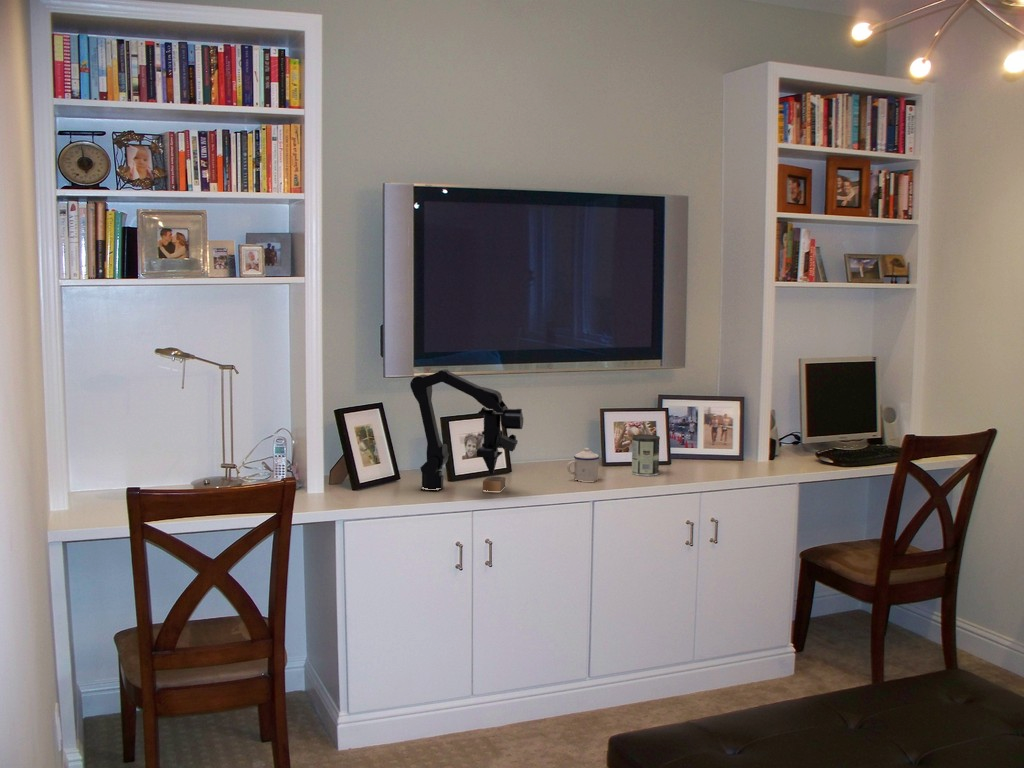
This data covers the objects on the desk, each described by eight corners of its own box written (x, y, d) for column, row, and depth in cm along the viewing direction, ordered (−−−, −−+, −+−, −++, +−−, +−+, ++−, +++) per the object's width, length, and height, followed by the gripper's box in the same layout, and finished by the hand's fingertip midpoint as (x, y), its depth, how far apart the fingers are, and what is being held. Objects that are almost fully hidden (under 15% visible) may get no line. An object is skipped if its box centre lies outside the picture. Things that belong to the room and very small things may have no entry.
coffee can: (649, 469, 355) (650, 433, 353) (664, 475, 345) (665, 437, 344) (626, 471, 351) (627, 434, 349) (639, 477, 341) (640, 439, 340)
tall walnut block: (482, 481, 314) (488, 476, 322) (482, 492, 315) (488, 487, 322) (499, 482, 313) (505, 477, 321) (499, 493, 313) (505, 488, 321)
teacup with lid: (592, 476, 341) (592, 445, 340) (602, 481, 333) (603, 449, 332) (562, 478, 337) (562, 447, 336) (572, 483, 329) (572, 451, 328)
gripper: (509, 433, 301) (508, 480, 303) (521, 424, 319) (520, 469, 321) (476, 431, 303) (475, 478, 305) (489, 423, 322) (489, 467, 323)
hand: (491, 473), depth 314 cm, fingers closed
